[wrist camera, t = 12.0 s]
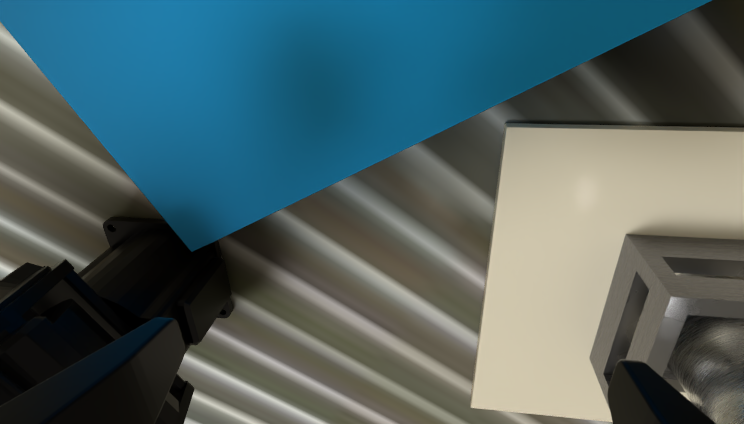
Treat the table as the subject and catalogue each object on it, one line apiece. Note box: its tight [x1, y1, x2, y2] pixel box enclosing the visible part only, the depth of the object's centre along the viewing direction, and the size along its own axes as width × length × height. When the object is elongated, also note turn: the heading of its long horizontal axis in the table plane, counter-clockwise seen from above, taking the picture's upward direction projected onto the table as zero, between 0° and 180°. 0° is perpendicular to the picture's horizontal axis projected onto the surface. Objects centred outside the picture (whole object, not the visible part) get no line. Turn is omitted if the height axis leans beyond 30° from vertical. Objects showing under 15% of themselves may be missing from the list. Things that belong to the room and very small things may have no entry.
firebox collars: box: [589, 234, 744, 410], centre depth 20 cm, size 8×8×5 cm
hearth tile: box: [470, 123, 744, 422], centre depth 22 cm, size 20×18×1 cm
